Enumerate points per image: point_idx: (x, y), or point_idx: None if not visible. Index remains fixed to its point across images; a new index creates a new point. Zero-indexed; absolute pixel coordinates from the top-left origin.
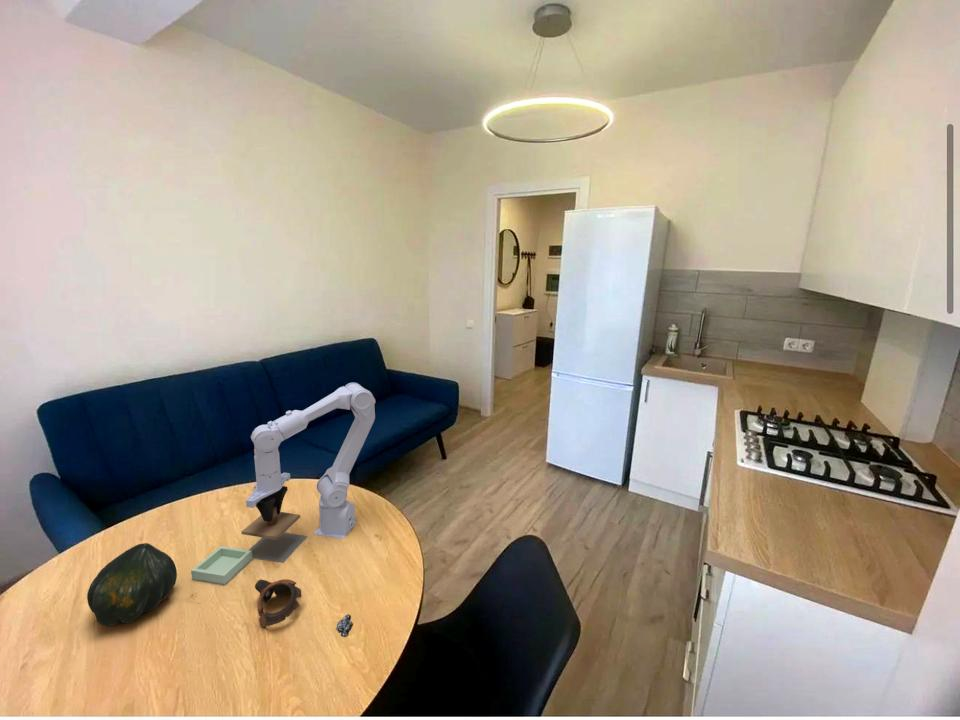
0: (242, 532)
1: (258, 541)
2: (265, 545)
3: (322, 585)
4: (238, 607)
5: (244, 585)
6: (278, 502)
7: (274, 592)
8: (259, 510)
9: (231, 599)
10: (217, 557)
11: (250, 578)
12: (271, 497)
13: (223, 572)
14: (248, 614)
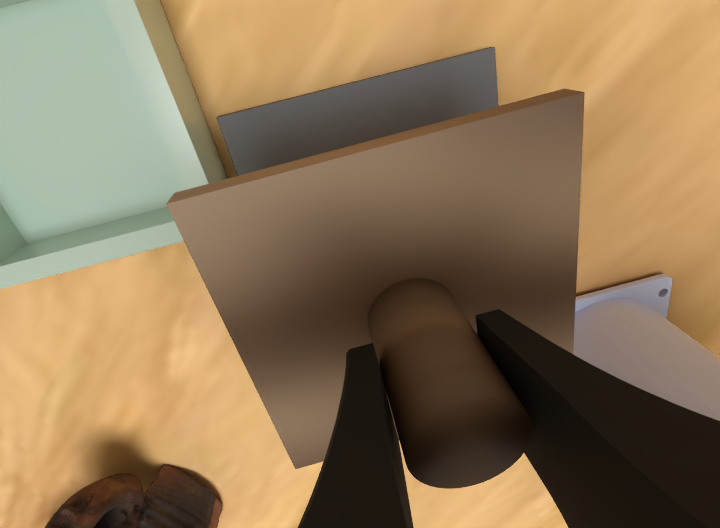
0: (173, 212)
1: (371, 82)
2: None
3: (294, 521)
4: (27, 406)
5: (108, 323)
6: (566, 503)
7: (144, 495)
8: (324, 474)
9: (21, 350)
10: None
11: (153, 307)
12: (616, 508)
13: (50, 169)
14: (43, 457)
